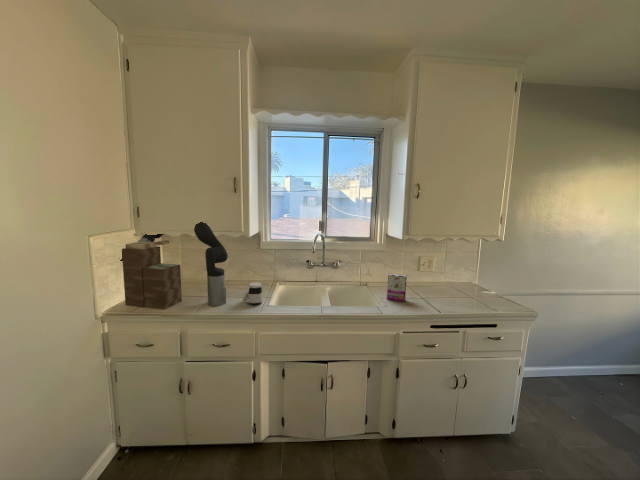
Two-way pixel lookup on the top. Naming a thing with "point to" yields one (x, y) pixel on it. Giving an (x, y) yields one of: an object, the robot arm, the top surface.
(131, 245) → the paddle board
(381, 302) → the top surface
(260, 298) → the spread jar
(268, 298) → the top surface
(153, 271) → the two-tone wooden block
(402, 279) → the candy bar box
